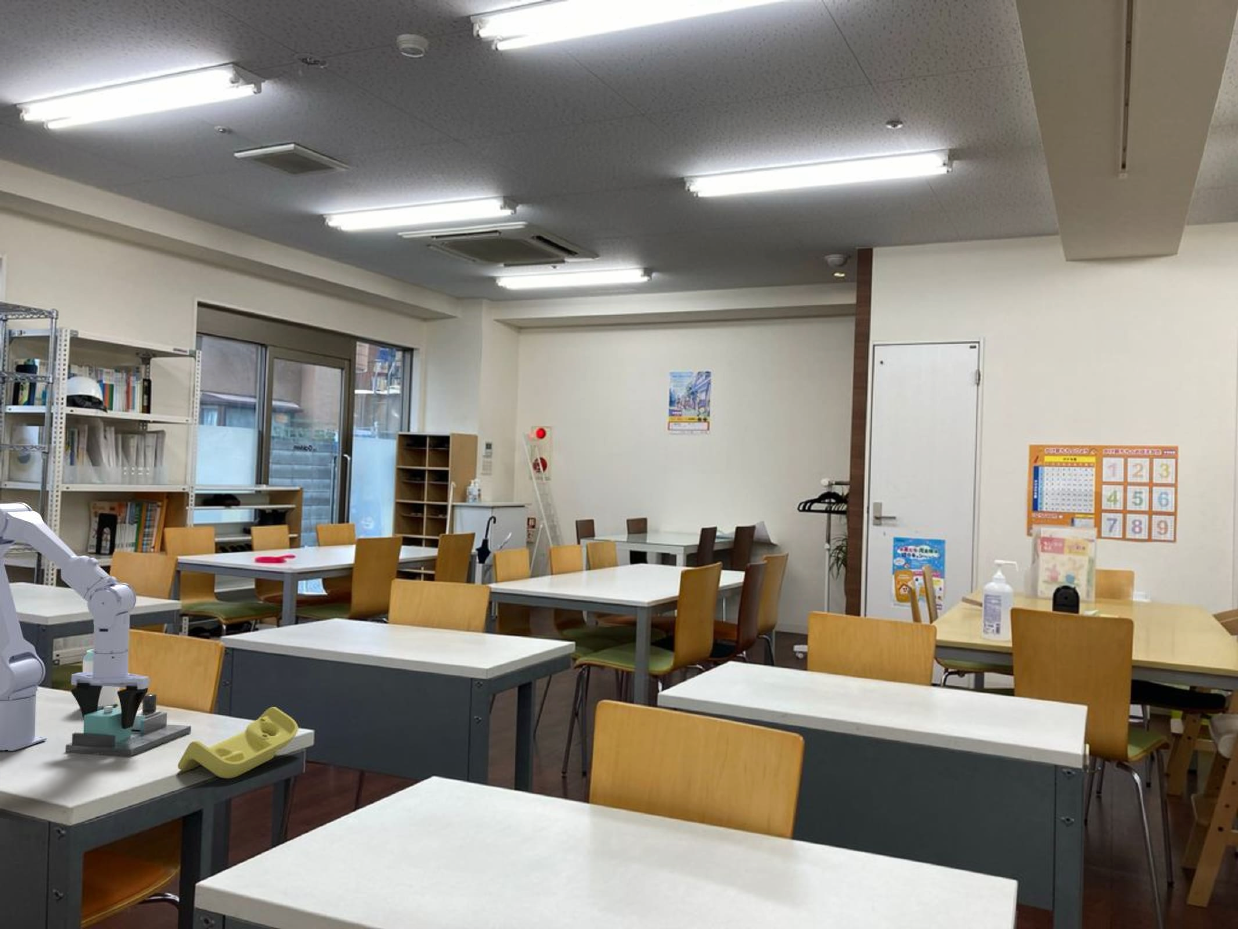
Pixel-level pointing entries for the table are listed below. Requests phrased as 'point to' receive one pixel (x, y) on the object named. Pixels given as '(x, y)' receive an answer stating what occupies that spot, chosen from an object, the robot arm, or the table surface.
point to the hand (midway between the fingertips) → (108, 726)
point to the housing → (106, 723)
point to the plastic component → (243, 746)
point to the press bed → (141, 740)
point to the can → (107, 692)
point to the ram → (146, 710)
